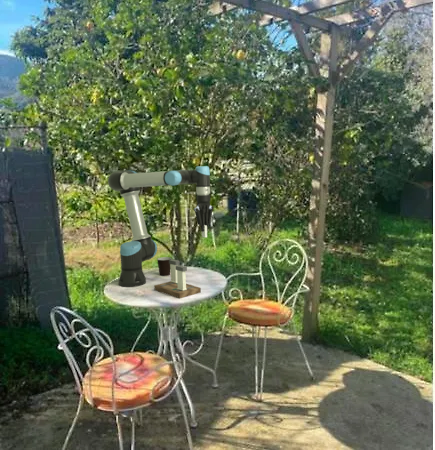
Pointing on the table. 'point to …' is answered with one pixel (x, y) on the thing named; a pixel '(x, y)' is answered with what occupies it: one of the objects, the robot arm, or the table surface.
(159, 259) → the coffee mug
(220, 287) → the table surface
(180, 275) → the lever
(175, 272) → the lever
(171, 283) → the wooden base board
